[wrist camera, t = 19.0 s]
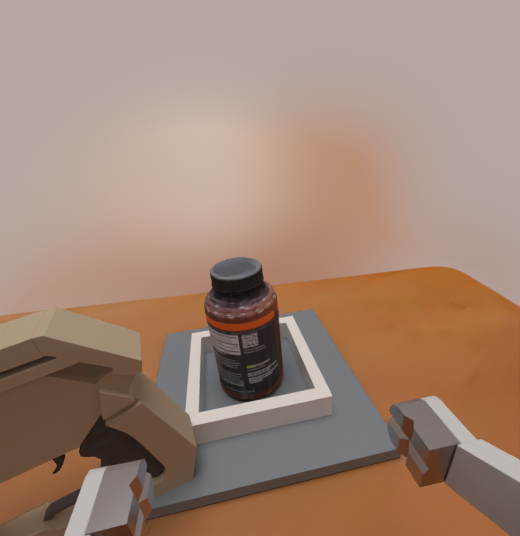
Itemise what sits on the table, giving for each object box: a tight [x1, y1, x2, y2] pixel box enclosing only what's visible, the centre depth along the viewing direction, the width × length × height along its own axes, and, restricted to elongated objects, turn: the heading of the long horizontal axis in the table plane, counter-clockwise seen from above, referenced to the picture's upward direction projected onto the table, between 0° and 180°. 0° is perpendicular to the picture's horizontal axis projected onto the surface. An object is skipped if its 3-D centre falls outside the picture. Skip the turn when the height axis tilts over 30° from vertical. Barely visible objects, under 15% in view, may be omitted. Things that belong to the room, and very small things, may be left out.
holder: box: [146, 309, 400, 520], centre depth 26 cm, size 18×18×3 cm
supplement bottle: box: [204, 257, 283, 400], centre depth 24 cm, size 6×6×11 cm
